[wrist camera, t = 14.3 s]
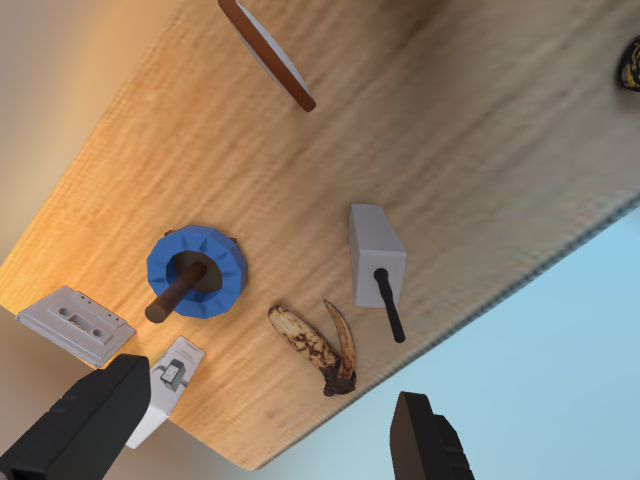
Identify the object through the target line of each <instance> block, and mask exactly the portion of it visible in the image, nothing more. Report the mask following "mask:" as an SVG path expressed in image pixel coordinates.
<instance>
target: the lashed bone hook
mask: <svg viewBox="0 0 640 480" xmlns="http://www.w3.org/2000/svg"><path fill="white" fill-rule="evenodd" d="M323 301H324V304H325V305H326V307H327V308H328V310H329V312H330V314H331V316H332V318H333V320H334V322H335V325H336V327H337V330H338V334H339V338H340V342H341V348H342V357H340V356H339V355H338V353H337V352H336V351H335V350H333V349H332V348H331V347H330V346H329V345H328V343H326V342H325V340H324V339H323V338H322V337H321V336H320V335H319V334H318V333H317V332H316V331H315V330H314V329H313V328H311V327H309V326H308V325H307V324H305V323H304V322H303V321H302V320H301V319H300V318H298V317H297V316H295V315H294V314H293V313H291V312H290V311H289V310H285V309H284V308H283V307H282V305H276V306H274V307H271V308H270V309H269V311H268V318H269V320H270V322H271V323H272V326H273V327H274V328H275V330H276V331H277V332H278V333H279V334H280V335H281V336H282V337H283V338H284V339H285V340H286V341H287V342H288V343H289V344H290V345H291V346H292V347H293V348H294V349H295V350H296V351H298V352H299V353H300V354H301V355H302V356H303V357H304V358H305V359H307V360H308V361H309V362H310V363H312V364H313V365H314V366H316V367H317V368H318V369H319V370H320V371H321V372H322V374H323V375H324V376H325V381H326V385H325V388H324V395H325V396H333V395H335V394H343V395H344V394H348V393H349V392H352V391H354V390H355V383H356V374H355V372H354V370H353V369H354V364H355V349H354V344H353V340H352V337H351V334H350V331H349V328H348V326H347V324H346V322H345V320H344V319H343V317H342V316H341V314H340V313H339V312H338V311H337V310H336V308H335V307H334V306H332V305H331V304H330V303H329V302H327V301H326V300H323Z"/></svg>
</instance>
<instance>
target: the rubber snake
mask: <svg viewBox="0 0 640 480" xmlns="http://www.w3.org/2000/svg"><path fill="white" fill-rule="evenodd" d="M619 74H620V83H621V86H622V87H624V88H625V89H628V90H632V91H635V92H640V36H639V37H637V38H636V39H635V40H634V41H633V42H632V43H631V44H630V45H629V47H628V48H627V50H626V52H625V54H624V57H623V60H622V62H621V67H620V73H619Z"/></svg>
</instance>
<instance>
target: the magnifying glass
mask: <svg viewBox="0 0 640 480" xmlns="http://www.w3.org/2000/svg"><path fill="white" fill-rule="evenodd" d="M218 4H219V6H220V7H221V9H222V10H223V12H224V13H225V14H226V16H227V17H228V18H229V20H230V22H231V24H232V26H233V27H234V29H235V31H236V32H237V34H238V35H239V37H240V38H241V40H242V41H243V43H244V44H245V46H246V47H247V48H248V50H249V51H250V52H251V54H252V55H253V56H254V58H255V59H256V60H257V61H258V63H259V64H260V65H261V66H262V68H263V69H264V70H265V71H266V72H267V73H268V75H269V76H270V77H271V78H272V79H273V80H274V81H275V82H276V83H277V84H278V85H279V86H280V87H281V88H282V89H283V90H284V91H285V92H286V93H287V94H288V95H289V96H290V97H291V98H292V99H294V100H295V101H296V102H297V103H298V104H299V105H300V106H301V107H302V108H303V109H304V110H305V111H306V112H310V111H312V110H313V109H314V108H315V106H316V103H315V101H314V100H313V99H312V97H311V96H310V94H309V91H308V89H307V87H306V85H305V83H304V82H303V80H302V78H301V76H300V75H299V73H298V72H297V70H296V68H295V67H294V65H293V64H292V63H291V61H290V60H289V58H288V57H287V55H286V54H285V53H284V51H283V50H282V49H281V47H280V46H279V45H278V44H277V42H276V41H275V40H274V39H273V37H272V36H271V35H270V34H269V33H268V32H267V31H266V29H265V28H264V27H263V26H262V25H261V24H260V23H259V22H258V21H257V20H256V19H255V18H254V16H252V15H251V14H250V13H249V12H248V11H247V10H246V9H245V8H244V7H243V6H241V5H240V4H239V3H238V2H236V1H235V0H218Z"/></svg>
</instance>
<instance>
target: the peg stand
mask: <svg viewBox="0 0 640 480" xmlns="http://www.w3.org/2000/svg"><path fill="white" fill-rule="evenodd" d="M172 232H174V231H173V230H170V231H168V232H166V233H165V236H166V235H168V234H169V233H172ZM229 239H230V240H232V241H233V242H234V243H236V239H234V238H229ZM175 265H176V273H177V275H178V276H179V277H178V278H177V279H176V280H175V281H174V282H173V283H172V284H171V285H170V286H169V287H168V288H167V289H165V290H164V291H163V292H162V293H161V294H160V295H159V296H158V297H157V298H156V299H155V300H154V301H153V302H152V303H151V304H150V305H149V306H148V307H147V308H146V309H145V315H146V317H147V319H148V320H150V321H151V322H153V323H162V322H163V321H164V320H165V319H166V318H167V317H168V316H169V315H170V314H171V313H172V311H173V310H174V309H175V308H176V307H177V306H178V305H179V304H180V302H181V301H182V300H183V299H184V298H185V297H186V296H187V295H188V293H189V292H190V291H191V290H193V291H195V292H202V293H211V292H214V291H217V290H219V289H221V288H222V276H223V275H222V273H221V271H220V269H219V267H218V265H217V264H216V262H215V261H214V260H212V259H211V258H210V257H208V256H207V255H205V254H204V253H202V252H197V251H190V250H185V251H183V252H180V253H179V254H178V255H177V257H176V258H175Z"/></svg>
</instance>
